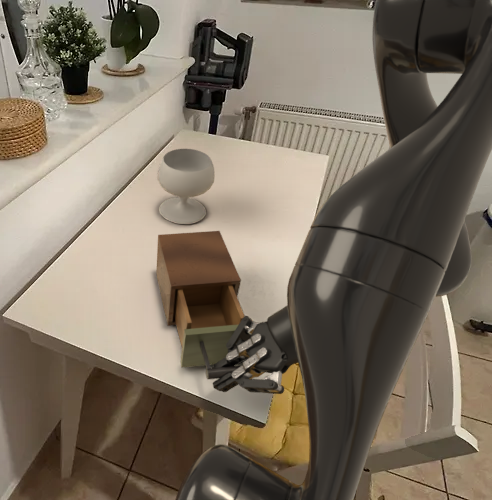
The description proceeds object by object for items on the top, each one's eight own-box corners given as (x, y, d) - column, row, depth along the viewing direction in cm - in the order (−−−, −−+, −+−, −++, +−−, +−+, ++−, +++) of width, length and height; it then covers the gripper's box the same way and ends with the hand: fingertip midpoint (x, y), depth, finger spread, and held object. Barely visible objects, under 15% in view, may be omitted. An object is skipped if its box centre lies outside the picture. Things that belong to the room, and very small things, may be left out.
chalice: (147, 201, 115) (149, 150, 105) (195, 192, 119) (200, 142, 109) (168, 232, 105) (171, 178, 95) (218, 221, 109) (227, 169, 99)
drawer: (258, 395, 70) (270, 363, 65) (189, 403, 69) (195, 371, 63) (225, 304, 86) (231, 271, 80) (168, 309, 85) (170, 276, 79)
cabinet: (232, 320, 84) (241, 280, 77) (167, 325, 83) (171, 286, 76) (213, 269, 95) (219, 230, 88) (156, 273, 94) (158, 234, 87)
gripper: (277, 278, 64) (190, 337, 71) (317, 354, 54) (210, 415, 60) (302, 299, 68) (217, 353, 75) (344, 374, 58) (240, 429, 64)
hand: (214, 381), depth 67 cm, fingers closed on drawer
